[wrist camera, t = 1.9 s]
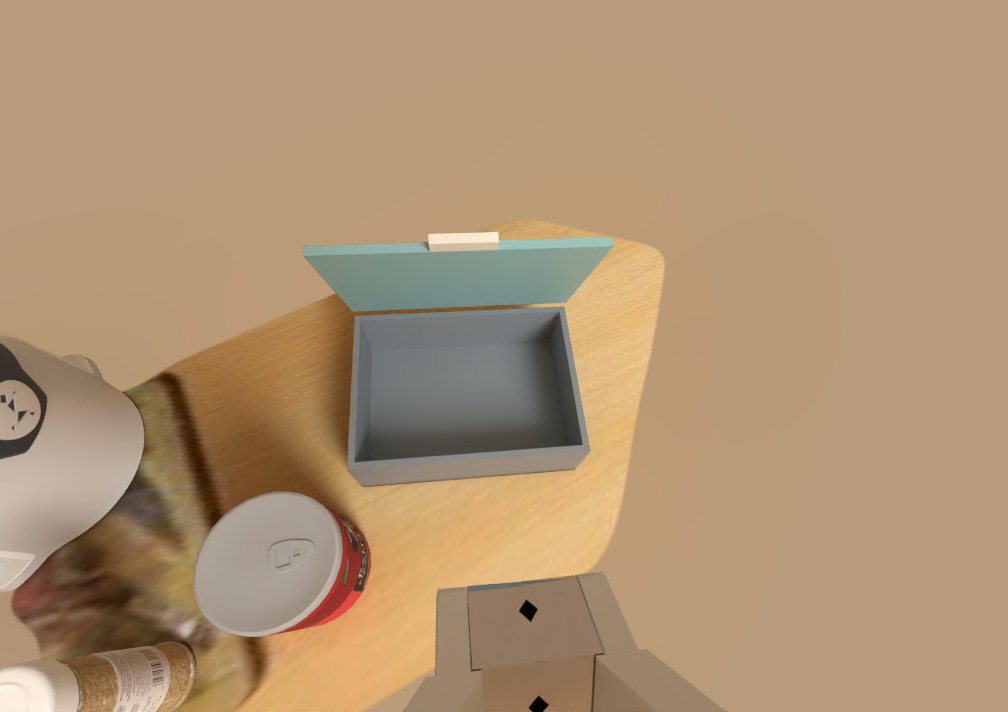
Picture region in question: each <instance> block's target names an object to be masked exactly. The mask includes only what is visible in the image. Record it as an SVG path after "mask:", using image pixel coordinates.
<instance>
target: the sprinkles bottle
mask: <svg viewBox="0 0 1008 712" xmlns="http://www.w3.org/2000/svg"><path fill="white" fill-rule="evenodd" d="M195 674H196V664H195V659H194V658H193V654H192V652H191V651H190V650H189V649H188V647H186V646H185V645H183V644H181V643H177V642H170V641H168V642H161V643H158V644H156V645H154V646H144V647H136V648H130V649H123V650H116V651H109V652H103V653H96V654H92V655H88V656H83V657H78V658H72V659H66V660H60V661H53V660H48V659H45V660H35V661H30V662H23V663H18V664H13V665H9V666H5V667H3V668H0V712H172V711H173V710H175V709H176V708H177V707H178V706H179V705H180V704H181V703H182V702H183V701H184V700H185V699H186V697H187V695H188V694H189V692H190V690H191V687H192V685H193V683H194V678H195Z"/></svg>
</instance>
